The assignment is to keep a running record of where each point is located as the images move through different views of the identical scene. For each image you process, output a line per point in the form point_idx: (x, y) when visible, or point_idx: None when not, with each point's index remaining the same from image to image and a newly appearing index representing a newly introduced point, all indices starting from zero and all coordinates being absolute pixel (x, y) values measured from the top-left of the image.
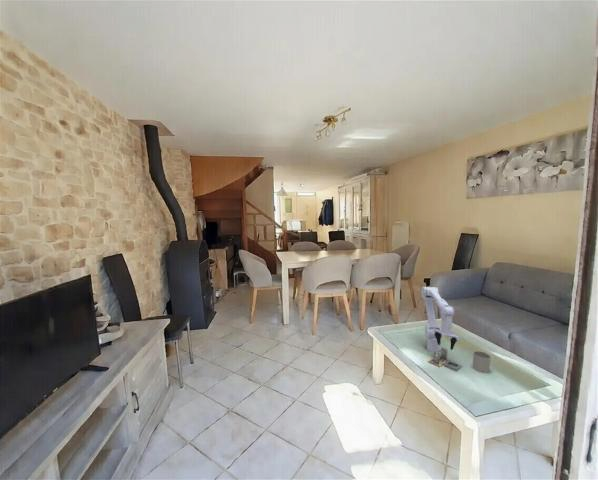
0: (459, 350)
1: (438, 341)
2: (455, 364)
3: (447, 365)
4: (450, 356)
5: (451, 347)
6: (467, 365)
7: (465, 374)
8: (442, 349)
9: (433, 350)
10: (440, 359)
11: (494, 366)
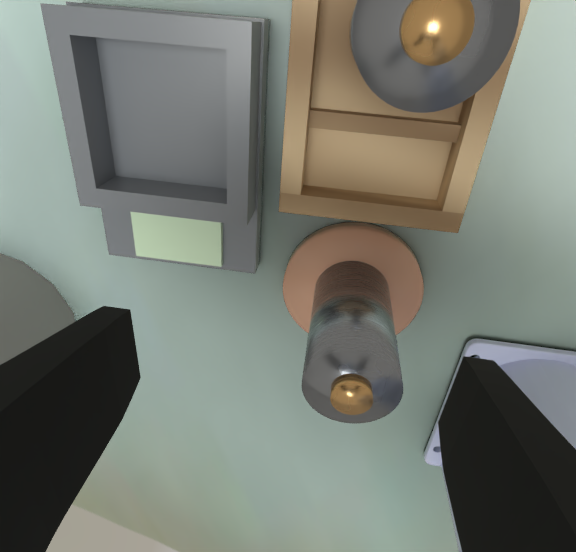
0: (297, 535)
1: (519, 445)
2: (152, 190)
3: (196, 18)
4: None
5: (53, 338)
6: None
7: (11, 87)
8: (378, 367)
9: (516, 383)
10: (371, 200)
11: None
